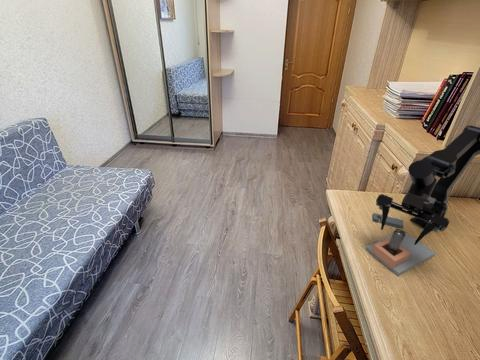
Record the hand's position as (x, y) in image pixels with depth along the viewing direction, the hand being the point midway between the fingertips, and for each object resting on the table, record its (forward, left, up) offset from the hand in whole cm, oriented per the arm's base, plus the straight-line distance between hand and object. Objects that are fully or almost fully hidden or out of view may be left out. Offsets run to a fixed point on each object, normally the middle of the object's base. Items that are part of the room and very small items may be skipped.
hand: (397, 236), depth 78 cm
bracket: (-17, -13, -11) cm, 24 cm away
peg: (-1, -1, -9) cm, 9 cm away
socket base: (-7, -1, -10) cm, 13 cm away
